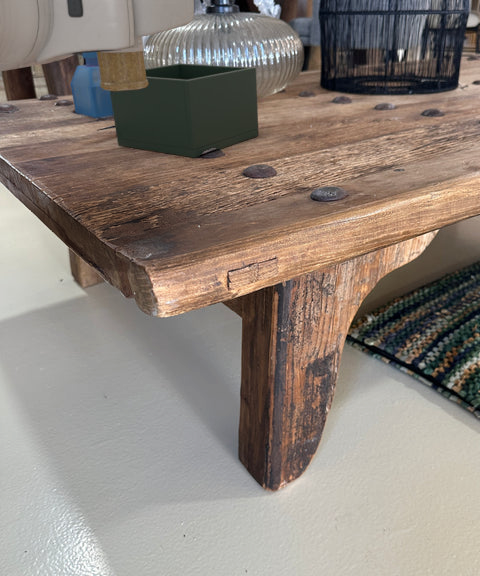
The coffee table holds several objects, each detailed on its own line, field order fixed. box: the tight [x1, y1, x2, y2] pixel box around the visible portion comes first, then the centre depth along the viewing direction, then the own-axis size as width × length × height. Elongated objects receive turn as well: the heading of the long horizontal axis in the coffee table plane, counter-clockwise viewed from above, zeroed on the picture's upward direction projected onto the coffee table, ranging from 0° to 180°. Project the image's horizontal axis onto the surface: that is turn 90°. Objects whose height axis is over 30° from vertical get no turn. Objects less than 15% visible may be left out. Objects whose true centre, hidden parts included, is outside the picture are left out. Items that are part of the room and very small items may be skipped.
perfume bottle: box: [69, 52, 116, 132], centre depth 86 cm, size 6×6×12 cm
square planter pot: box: [110, 62, 260, 159], centre depth 76 cm, size 14×14×9 cm
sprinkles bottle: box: [97, 37, 148, 91], centre depth 52 cm, size 5×5×14 cm
